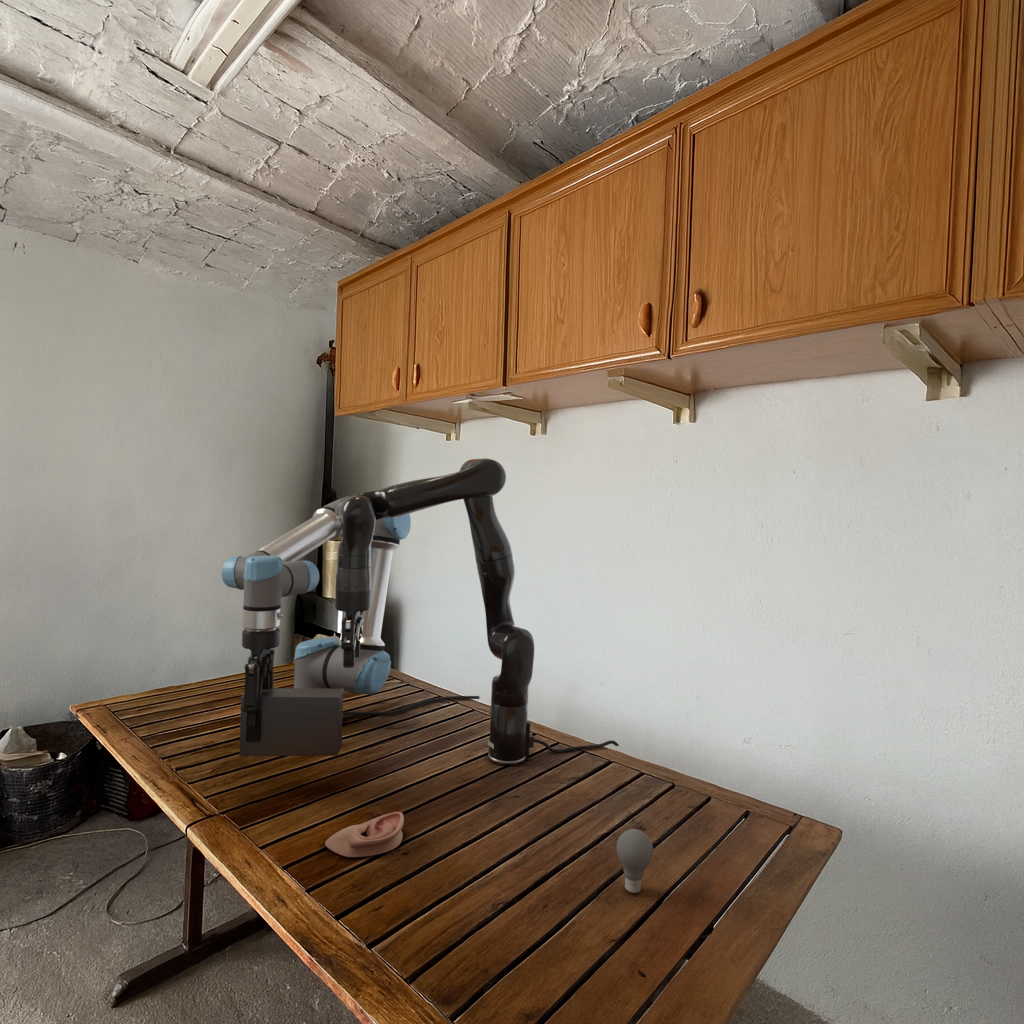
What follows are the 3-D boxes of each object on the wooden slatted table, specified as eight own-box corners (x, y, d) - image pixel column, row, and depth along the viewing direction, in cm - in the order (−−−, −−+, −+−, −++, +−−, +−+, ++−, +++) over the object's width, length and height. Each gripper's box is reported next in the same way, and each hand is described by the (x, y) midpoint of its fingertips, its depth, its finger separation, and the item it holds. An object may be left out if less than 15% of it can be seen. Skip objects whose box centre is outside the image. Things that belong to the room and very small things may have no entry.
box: (239, 756, 133) (240, 696, 133) (248, 745, 139) (249, 688, 139) (337, 755, 135) (339, 696, 135) (341, 744, 141) (343, 688, 141)
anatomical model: (317, 830, 113) (346, 800, 124) (316, 852, 113) (345, 821, 124) (387, 841, 110) (410, 810, 121) (386, 864, 110) (410, 831, 121)
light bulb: (610, 879, 108) (613, 822, 108) (644, 879, 109) (647, 822, 109) (619, 902, 102) (622, 840, 102) (655, 901, 103) (658, 840, 103)
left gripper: (267, 638, 127) (263, 753, 127) (290, 619, 145) (286, 719, 146) (228, 637, 126) (224, 753, 126) (256, 619, 145) (252, 719, 145)
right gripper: (367, 593, 130) (365, 671, 131) (374, 583, 145) (373, 653, 145) (329, 592, 130) (328, 671, 130) (341, 582, 144) (339, 653, 144)
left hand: (257, 735), depth 136 cm, fingers closed on box, 6 cm apart
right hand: (351, 661), depth 137 cm, fingers open, 8 cm apart
